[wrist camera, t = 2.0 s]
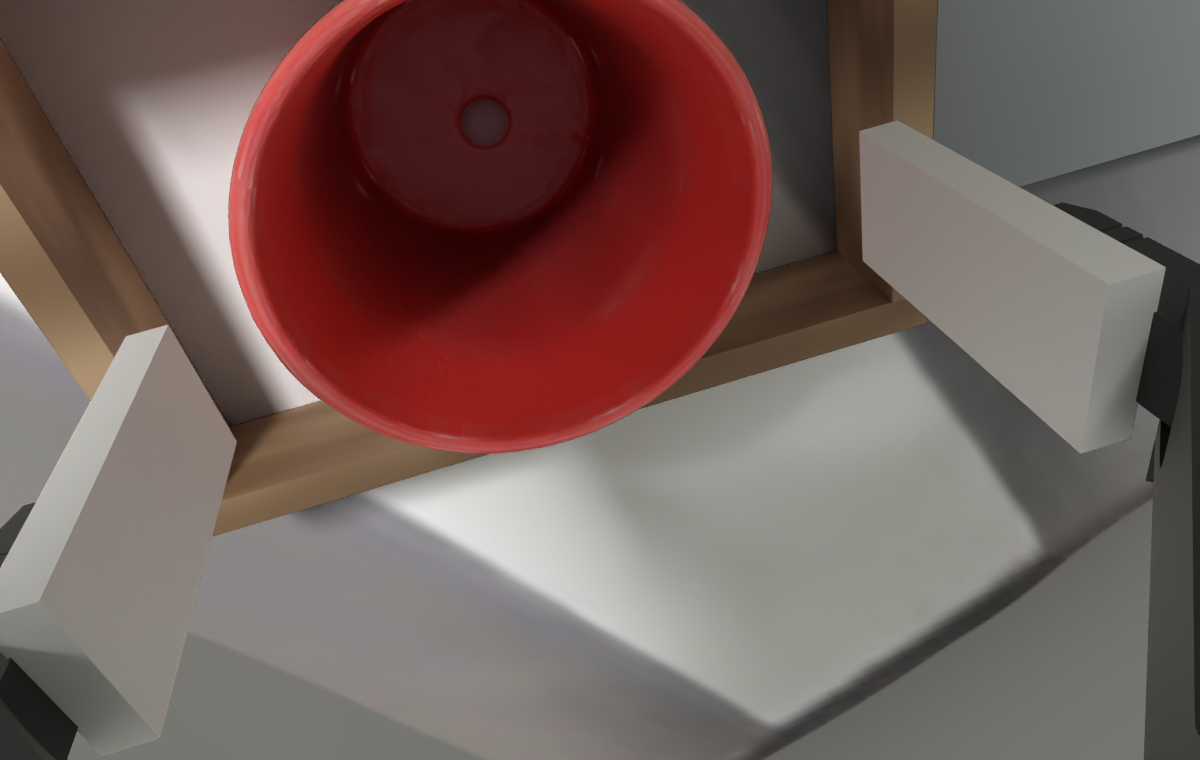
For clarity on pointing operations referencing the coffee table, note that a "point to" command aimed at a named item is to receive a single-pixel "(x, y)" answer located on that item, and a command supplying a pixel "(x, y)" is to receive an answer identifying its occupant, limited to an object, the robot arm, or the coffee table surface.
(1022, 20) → the rubber mat
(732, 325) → the frame
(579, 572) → the coffee table surface
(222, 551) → the coffee table surface
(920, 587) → the coffee table surface
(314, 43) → the flower pot
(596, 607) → the coffee table surface
